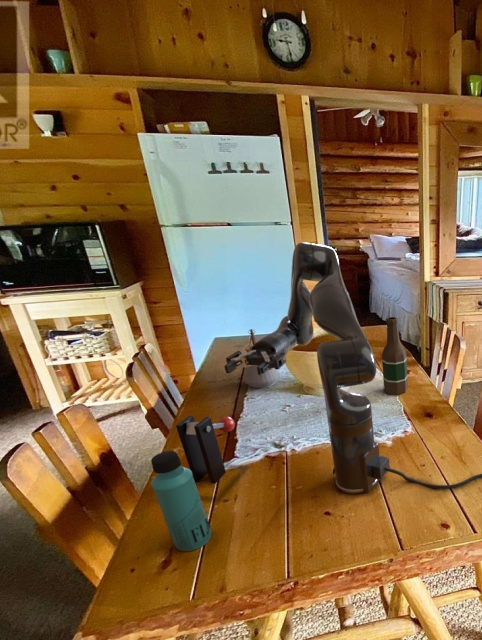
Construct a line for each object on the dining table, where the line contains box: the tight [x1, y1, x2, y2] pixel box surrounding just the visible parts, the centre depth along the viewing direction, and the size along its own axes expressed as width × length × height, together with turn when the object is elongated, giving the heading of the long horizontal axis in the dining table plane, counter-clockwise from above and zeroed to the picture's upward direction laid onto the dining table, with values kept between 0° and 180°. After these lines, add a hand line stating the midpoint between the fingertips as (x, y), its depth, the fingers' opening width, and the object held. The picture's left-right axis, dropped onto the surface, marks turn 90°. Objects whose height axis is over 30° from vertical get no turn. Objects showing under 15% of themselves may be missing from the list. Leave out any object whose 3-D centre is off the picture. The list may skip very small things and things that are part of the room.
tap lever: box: [186, 416, 236, 435], centre depth 99 cm, size 14×4×4 cm, turn 173°
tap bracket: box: [175, 415, 227, 485], centre depth 96 cm, size 12×10×16 cm
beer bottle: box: [381, 316, 409, 396], centre depth 138 cm, size 8×8×24 cm
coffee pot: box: [242, 328, 280, 389], centre depth 149 cm, size 21×12×15 cm, turn 25°
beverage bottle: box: [150, 450, 213, 552], centre depth 78 cm, size 6×7×20 cm
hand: (242, 370), depth 111 cm, fingers open, 8 cm apart
